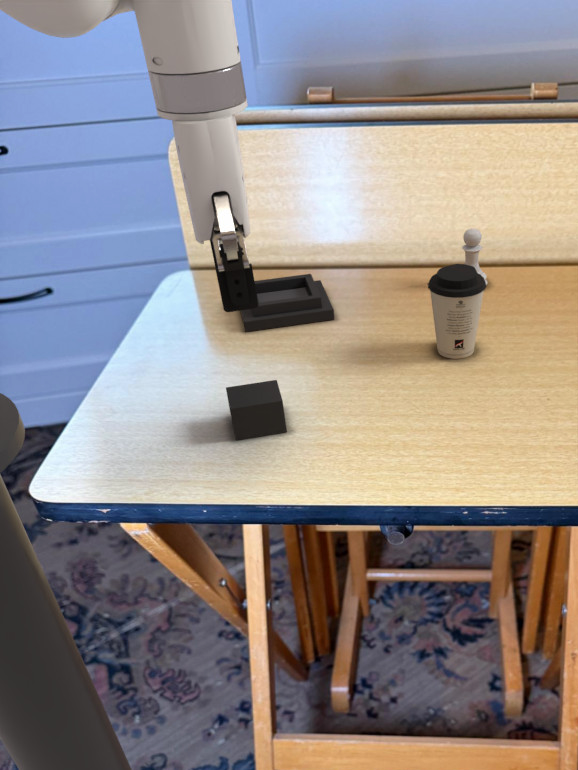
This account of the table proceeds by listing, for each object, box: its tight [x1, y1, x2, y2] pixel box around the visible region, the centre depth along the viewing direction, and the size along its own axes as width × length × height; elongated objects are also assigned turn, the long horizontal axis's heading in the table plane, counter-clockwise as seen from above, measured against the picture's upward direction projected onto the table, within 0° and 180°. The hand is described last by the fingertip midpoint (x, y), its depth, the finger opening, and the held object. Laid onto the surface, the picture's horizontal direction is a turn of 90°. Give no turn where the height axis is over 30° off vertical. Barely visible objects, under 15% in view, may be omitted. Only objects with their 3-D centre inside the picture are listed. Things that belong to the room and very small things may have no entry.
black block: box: [225, 379, 288, 441], centre depth 87 cm, size 6×5×4 cm
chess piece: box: [461, 228, 488, 286], centre depth 112 cm, size 5×5×8 cm
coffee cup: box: [427, 263, 487, 360], centre depth 97 cm, size 7×7×10 cm
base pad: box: [240, 273, 335, 333], centre depth 109 cm, size 12×10×3 cm
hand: (236, 287), depth 77 cm, fingers open, 9 cm apart
